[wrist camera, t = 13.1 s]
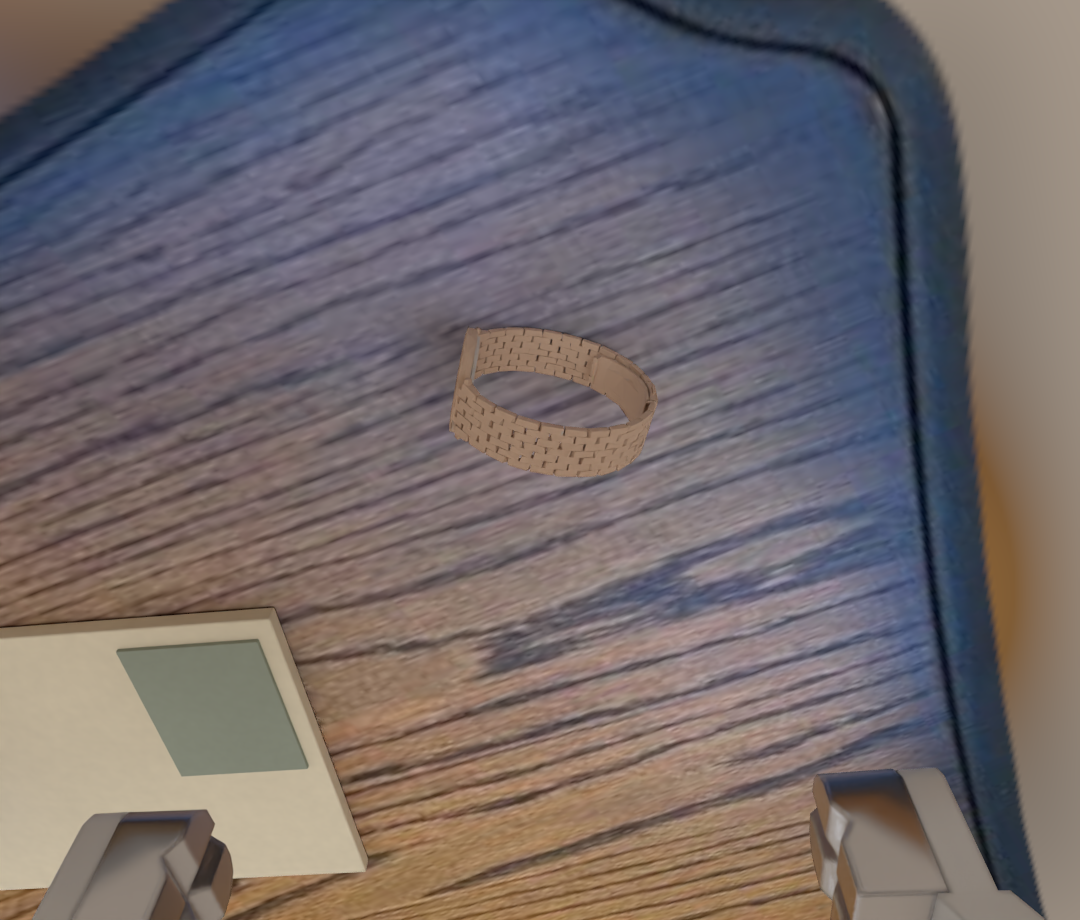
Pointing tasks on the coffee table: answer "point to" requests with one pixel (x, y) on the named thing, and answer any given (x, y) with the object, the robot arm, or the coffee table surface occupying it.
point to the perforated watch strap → (496, 424)
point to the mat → (166, 742)
